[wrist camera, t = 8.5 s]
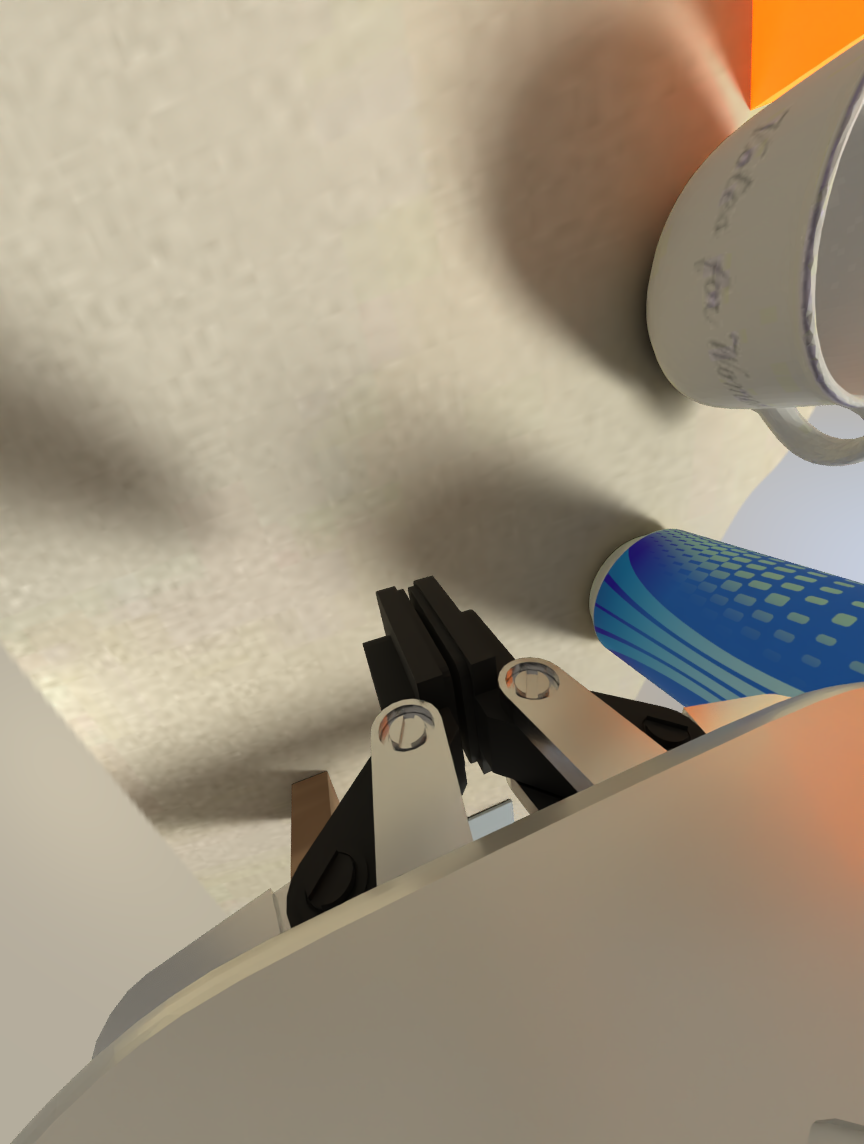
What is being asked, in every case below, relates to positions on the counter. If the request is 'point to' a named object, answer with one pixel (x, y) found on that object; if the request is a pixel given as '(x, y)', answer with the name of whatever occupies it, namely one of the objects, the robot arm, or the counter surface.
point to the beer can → (726, 619)
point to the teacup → (773, 266)
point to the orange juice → (798, 41)
